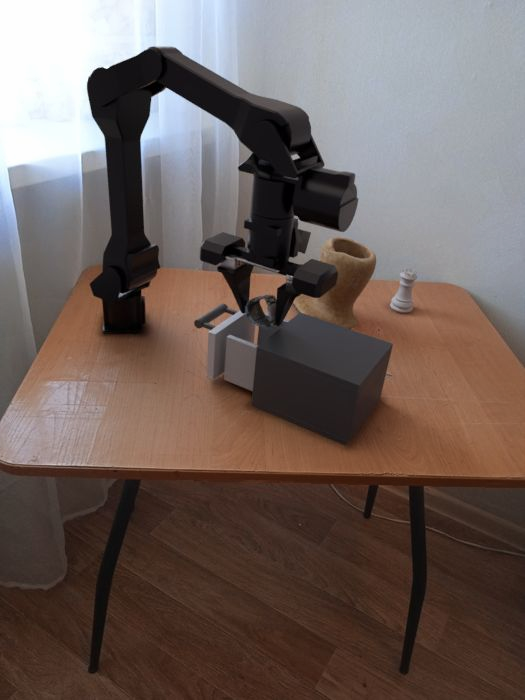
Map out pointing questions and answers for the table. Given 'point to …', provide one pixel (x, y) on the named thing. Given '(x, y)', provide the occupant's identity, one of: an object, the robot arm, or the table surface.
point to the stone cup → (341, 282)
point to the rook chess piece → (404, 292)
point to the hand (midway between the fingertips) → (261, 318)
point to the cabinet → (320, 376)
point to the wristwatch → (257, 314)
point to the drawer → (233, 345)
